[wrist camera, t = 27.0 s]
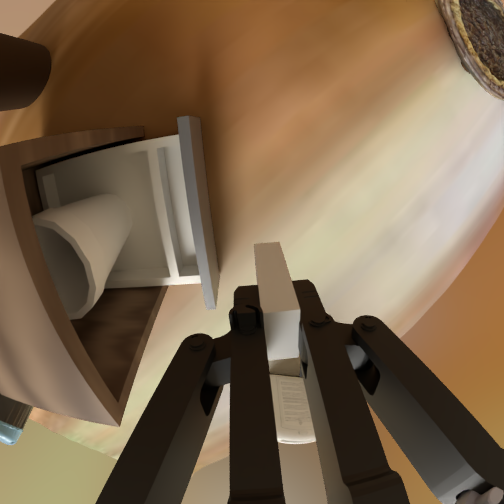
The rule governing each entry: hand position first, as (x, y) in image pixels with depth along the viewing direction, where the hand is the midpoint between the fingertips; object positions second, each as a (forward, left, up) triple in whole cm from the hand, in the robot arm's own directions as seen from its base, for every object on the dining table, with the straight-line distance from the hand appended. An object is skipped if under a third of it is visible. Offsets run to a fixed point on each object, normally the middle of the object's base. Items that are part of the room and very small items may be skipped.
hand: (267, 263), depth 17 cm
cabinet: (-19, 0, -16) cm, 24 cm away
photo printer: (+3, -32, -16) cm, 36 cm away
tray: (-15, 0, -15) cm, 22 cm away
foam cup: (-17, 0, -14) cm, 23 cm away
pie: (+35, +25, -17) cm, 46 cm away
